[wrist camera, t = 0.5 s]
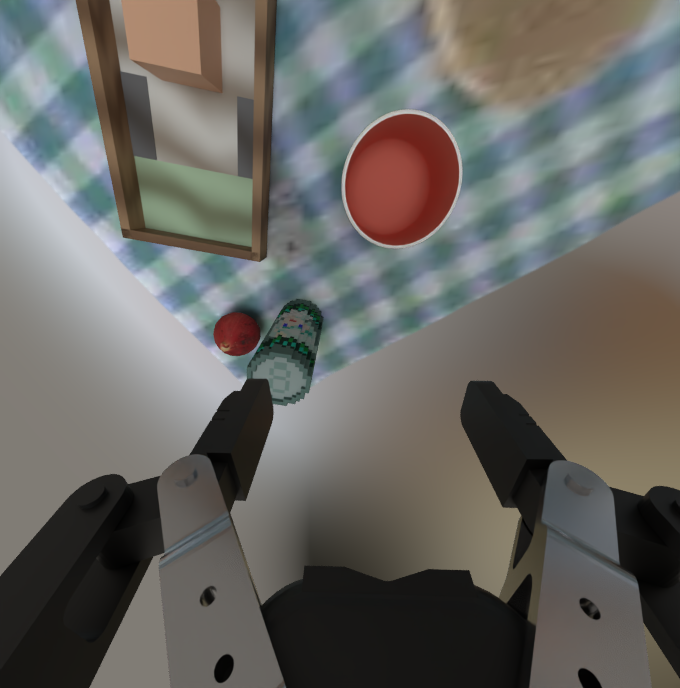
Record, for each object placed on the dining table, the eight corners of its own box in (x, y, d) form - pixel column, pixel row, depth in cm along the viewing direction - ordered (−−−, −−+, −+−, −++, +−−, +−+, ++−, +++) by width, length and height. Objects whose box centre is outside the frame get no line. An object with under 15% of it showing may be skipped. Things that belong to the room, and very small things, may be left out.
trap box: (88, -74, 22) (53, -110, 20) (277, -27, 23) (268, -56, 21) (140, 234, 34) (123, 237, 31) (266, 257, 35) (259, 261, 32)
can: (325, 303, 38) (313, 358, 25) (319, 341, 41) (306, 408, 27) (282, 296, 37) (247, 348, 24) (279, 334, 40) (246, 400, 27)
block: (152, -9, 24) (113, -51, 20) (220, 7, 24) (195, -31, 20) (161, 80, 27) (129, 59, 23) (222, 93, 27) (201, 74, 23)
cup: (331, 219, 33) (325, 226, 24) (361, 121, 28) (368, 84, 19) (406, 248, 34) (426, 264, 25) (446, 158, 30) (488, 140, 21)
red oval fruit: (264, 305, 38) (246, 329, 31) (267, 341, 41) (251, 370, 34) (223, 303, 38) (195, 326, 31) (229, 339, 41) (205, 368, 34)
